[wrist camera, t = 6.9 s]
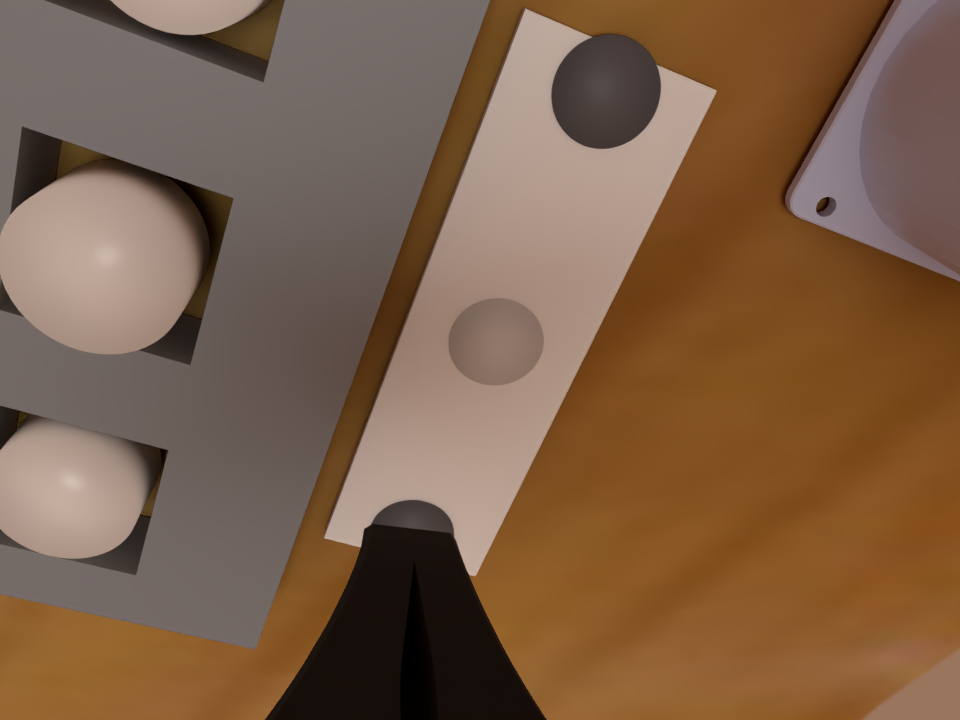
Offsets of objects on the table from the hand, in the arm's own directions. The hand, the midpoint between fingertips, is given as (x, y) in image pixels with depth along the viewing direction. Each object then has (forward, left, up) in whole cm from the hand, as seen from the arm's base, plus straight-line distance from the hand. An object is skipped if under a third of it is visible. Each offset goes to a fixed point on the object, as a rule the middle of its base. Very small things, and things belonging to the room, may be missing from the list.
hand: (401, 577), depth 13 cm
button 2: (+7, 0, -9) cm, 11 cm away
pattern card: (-2, 0, -10) cm, 11 cm away
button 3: (+7, +7, -10) cm, 14 cm away
